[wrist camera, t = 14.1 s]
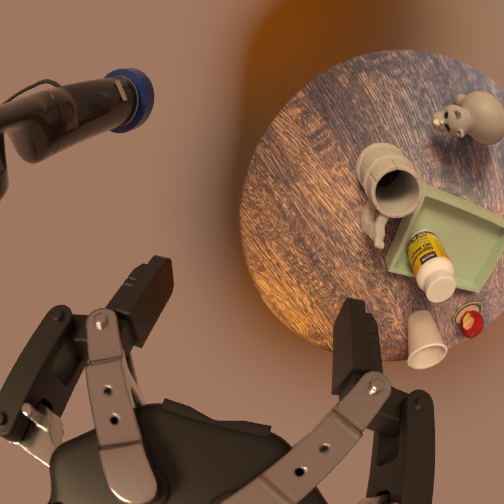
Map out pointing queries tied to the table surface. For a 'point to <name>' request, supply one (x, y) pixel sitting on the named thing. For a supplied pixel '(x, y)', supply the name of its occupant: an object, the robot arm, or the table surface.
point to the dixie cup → (424, 341)
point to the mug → (386, 188)
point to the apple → (469, 319)
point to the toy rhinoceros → (472, 118)
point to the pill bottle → (431, 265)
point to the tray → (452, 237)
